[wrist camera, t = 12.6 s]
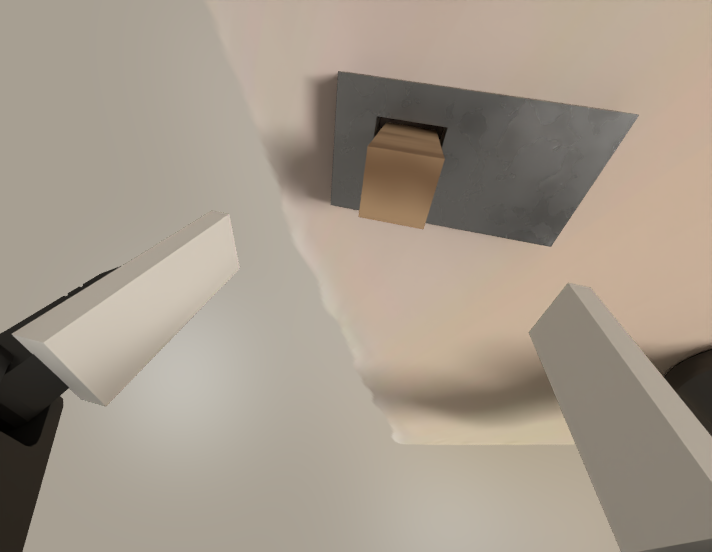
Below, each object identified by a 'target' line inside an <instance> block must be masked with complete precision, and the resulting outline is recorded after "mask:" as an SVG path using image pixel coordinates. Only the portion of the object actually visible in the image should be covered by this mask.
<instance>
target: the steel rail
mask: <svg viewBox="0 0 712 552" xmlns="http://www.w3.org/2000/svg"><path fill="white" fill-rule="evenodd" d="M638 116H639V115H637V114H631V113H625V112H619V111H612V110H606V109H599V108H592V107H585V106H578V105H571V104H564V103H557V102H550V101H543V100H537V99H530V98H523V97H516V96H509V95H502V94H495V93H488V92H481V91H474V90H467V89H461V88H454V87H447V86H440V85H433V84H426V83H419V82H412V81H405V80H398V79H391V78H385V77H378V76H371V75H364V74H357V73H350V72H341V71H338V82H337V100H336V118H335V136H334V154H333V173H332V191H331V205H334V206H339V207H344V208H350V209H355V210H359V209H360V202H361V194H362V186H363V178H364V170H365V163H366V155H367V147H368V145H369V144H370V142H371V141H372V140H373V139H374V137H375V136H376V135H377V134H378V128H379V121H380V117H385V118H391V119H398V120H404V121H410V122H417V123H423V124H429V125H436V126H442V127H444V129H443V133H442V137H441V140H440V145H441V148H442V151H443V155H444V158H445V160H444V163H443V167H442V170H441V173H440V177H439V180H438V183H437V186H436V190H435V193H434V196H433V200H432V203H431V206H430V209H429V213H428V216H427V219H426V223H429V224H434V225H439V226H444V227H450V228H455V229H460V230H465V231H471V232H476V233H481V234H486V235H492V236H497V237H502V238H507V239H513V240H518V241H523V242H528V243H534V244H539V245H544V246H549V247H551V246H552V244H553V243H554V241H555V240H556V238H557V237H558V235H559V234H560V232H561V231H562V229H563V228H564V226H565V225H566V223H567V222H568V220H569V219H570V217H571V216H572V214H573V213H574V211H575V210H576V208H577V207H578V205H579V204H580V202H581V201H582V199H583V198H584V196H585V195H586V194H587V192H588V191H589V189H590V188H591V186H592V185H593V183H594V182H595V180H596V179H597V177H598V176H599V174H600V173H601V171H602V170H603V168H604V167H605V165H606V164H607V162H608V161H609V159H610V158H611V156H612V155H613V153H614V152H615V150H616V149H617V147H618V146H619V144H620V143H621V141H622V140H623V138H624V137H625V135H626V134H627V132H628V131H629V129H630V128H631V126H632V125H633V123H634V122H635V120H636V119H637V117H638Z"/></svg>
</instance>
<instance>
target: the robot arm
mask: <svg viewBox="0 0 712 552" xmlns="http://www.w3.org/2000/svg"><path fill="white" fill-rule="evenodd" d="M239 269H240V267H239V261H238V256H237V251H236V246H235V241H234V236H233V231H232V226H231V221H230V216H229V214H227V213H222V212H217V211H210V212H208V213H207V214H205V215H203V216H202V217H200V218H199V219H197V220H195V221H194V222H192V223H190V224H189V225H187V226H186V227H184V228H182V229H181V230H179V231H177V232H176V233H174V234H173V235H171V236H169V237H168V238H166V239H165V240H163V241H161V242H160V243H158V244H156V245H155V246H153V247H152V248H150V249H148V250H147V251H145V252H144V253H142V254H140V255H139V256H137V257H135V258H134V259H132V260H131V261H129V262H127V263H126V264H124V265H123V266H120V267H117V268H115V269H112V270H109V271H107V272H104V273H102V274H99V275H98V276H96V277H94V278H93V279H91V280H89V281H88V282H86V283H85V284H83V286H82V287H78V288H76V289H74V290H73V291H71V292H69V293H68V296H63V297H61V298H59V299H58V300H56V301H54V302H53V303H51V304H49V305H48V306H46V307H45V308H43V309H41V310H40V311H38V312H36V313H35V314H33V315H31V316H30V317H28V318H26V319H25V320H23V321H21V322H20V323H18V324H16V325H15V326H13V327H11V328H10V329H8V330H6V331H4V332H3V333H1V334H0V552H22V551H23V547H24V544H25V540H26V537H27V533H28V530H29V526H30V523H31V518H32V515H33V512H34V508H35V505H36V501H37V498H38V494H39V491H40V487H41V484H42V480H43V476H44V473H45V469H46V466H47V462H48V459H49V455H50V452H51V448H52V444H53V441H54V437H55V433H56V430H57V427H58V423H59V419H60V415H61V412H62V409H63V399H62V398H61V397H60V395H61V394H62V393H64V392H65V391H66V390H67V389H68V388H70V390H72V391H73V392H74V393H75V394H76V395H77V396H78V397H79V398H80V399H82V400H85V401H88V402H92V403H95V404H99V405H102V406H107V405H108V404H109V403H110V402H111V401H112V400H113V399H114V398H115V397H116V396H117V395H118V394H119V393H120V391H121V390H122V389H123V388H124V387H125V386H126V385H127V384H128V383H129V382H130V381H131V380H132V379H133V378H134V377H135V376H136V375H137V374H138V373H139V372H140V371H141V370H142V369H143V368H144V367H145V366H146V365H147V364H148V363H149V362H150V361H151V359H152V358H153V357H155V355H156V354H157V353H158V352H159V351H160V350H161V349H162V348H163V347H164V346H165V345H166V344H167V343H168V342H169V341H170V340H171V339H172V338H173V337H174V336H175V335H176V334H177V333H178V332H179V331H180V329H182V328H183V327H184V325H186V324H187V322H188V321H189V320H190V319H191V318H192V317H193V316H194V315H195V314H196V313H197V312H198V311H199V310H200V309H201V308H202V307H203V306H204V305H205V304H206V303H207V302H208V301H209V300H210V299H211V298H212V297H213V295H215V294H216V292H218V291H219V289H220V288H221V287H222V286H223V285H224V284H225V283H226V282H227V281H228V280H229V279H230V278H231V277H232V276H233V275H234V274H235V273H236V272H237V271H238V270H239ZM529 335H530V337H531V339H532V342H533V344H534V346H535V349H536V351H537V354H538V356H539V358H540V361H541V363H542V365H543V368H544V370H545V373H546V375H547V377H548V380H549V382H550V384H551V387H552V389H553V392H554V394H555V396H556V399H557V401H558V403H559V406H560V408H561V411H562V413H563V415H564V418H565V420H566V422H567V425H568V427H569V430H570V432H571V434H572V437H573V439H574V441H575V444H576V446H577V448H578V451H579V453H580V456H581V458H582V460H583V463H584V465H585V467H586V470H587V472H588V475H589V477H590V479H591V482H592V484H593V487H594V489H595V491H596V494H597V496H598V498H599V501H600V503H601V505H602V508H603V510H604V513H605V515H606V517H607V520H608V522H609V524H610V527H611V529H612V532H613V534H614V536H615V539H616V541H617V543H618V546H619V548H620V551H621V552H712V350H710V351H707V352H704V353H701V354H698V355H696V356H693V357H691V358H689V359H687V360H685V361H683V362H681V363H680V364H678V365H677V366H675V367H674V368H673V369H672V370H670V371H669V372H668V374H667V375H666V376H665V378H664V377H663V376H662V375H661V374H660V372H659V371H658V370H657V369H656V367H655V366H654V365H653V364H652V362H651V361H650V360H649V359H648V358H647V356H646V355H645V354H644V353H643V351H642V350H641V349H640V348H639V346H638V345H637V344H636V343H635V342H634V340H633V339H632V338H631V337H630V335H629V334H628V333H627V332H626V330H625V329H624V328H623V327H622V326H621V324H620V323H619V322H618V321H617V319H616V318H615V317H614V316H613V314H612V313H611V312H610V311H609V310H608V308H607V307H606V306H605V305H604V303H603V302H602V301H601V300H600V298H599V297H598V296H597V295H596V293H595V292H594V291H593V290H592V289H591V287H586V286H581V285H577V284H572V283H568V284H567V285H566V286H565V287H564V289H563V290H562V291H561V292H560V294H559V295H558V296H557V297H556V299H555V300H554V301H553V302H552V304H551V305H550V306H549V307H548V309H547V310H546V311H545V313H544V314H543V315H542V316H541V318H540V319H539V320H538V321H537V323H536V324H535V325H534V326H533V328H532V329H531V330H530V331H529Z"/></svg>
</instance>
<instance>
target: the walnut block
mask: <svg viewBox="0 0 712 552" xmlns="http://www.w3.org/2000/svg"><path fill="white" fill-rule="evenodd" d="M444 160H445V158H444V155H443V151H442V148H441V145H440V141H439V138H438V134H437V131H436V130H433V129H427V128H421V127H414V126H408V125H402V124H396V123H389V122H386V123H385V125H384V126H383V127H382V129H381V130H380V131H379V132H378V134H377V135H376V136H375V137H374V139H373V140H372V141H371V142H370V144H369V145H368V147H367V155H366V163H365V170H364V178H363V186H362V194H361V202H360V209H359V217H362V218H367V219H372V220H378V221H383V222H388V223H393V224H398V225H404V226H409V227H414V228H419V229H424V226H425V223H426V219H427V216H428V213H429V209H430V206H431V203H432V200H433V196H434V193H435V190H436V186H437V183H438V180H439V177H440V173H441V170H442V167H443V163H444Z"/></svg>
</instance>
